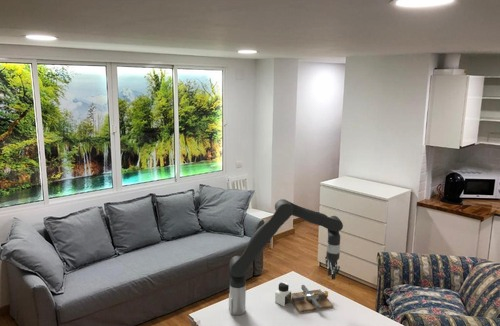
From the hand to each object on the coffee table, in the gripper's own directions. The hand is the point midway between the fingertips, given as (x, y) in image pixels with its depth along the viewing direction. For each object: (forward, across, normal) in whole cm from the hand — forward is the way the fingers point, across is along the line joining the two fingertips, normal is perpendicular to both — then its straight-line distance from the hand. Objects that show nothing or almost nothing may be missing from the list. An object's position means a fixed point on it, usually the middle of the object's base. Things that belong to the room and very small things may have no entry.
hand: (331, 277), depth 226 cm
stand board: (+19, -7, -10) cm, 23 cm away
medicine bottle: (+20, -11, -26) cm, 34 cm away
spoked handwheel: (+17, -7, -9) cm, 21 cm away
